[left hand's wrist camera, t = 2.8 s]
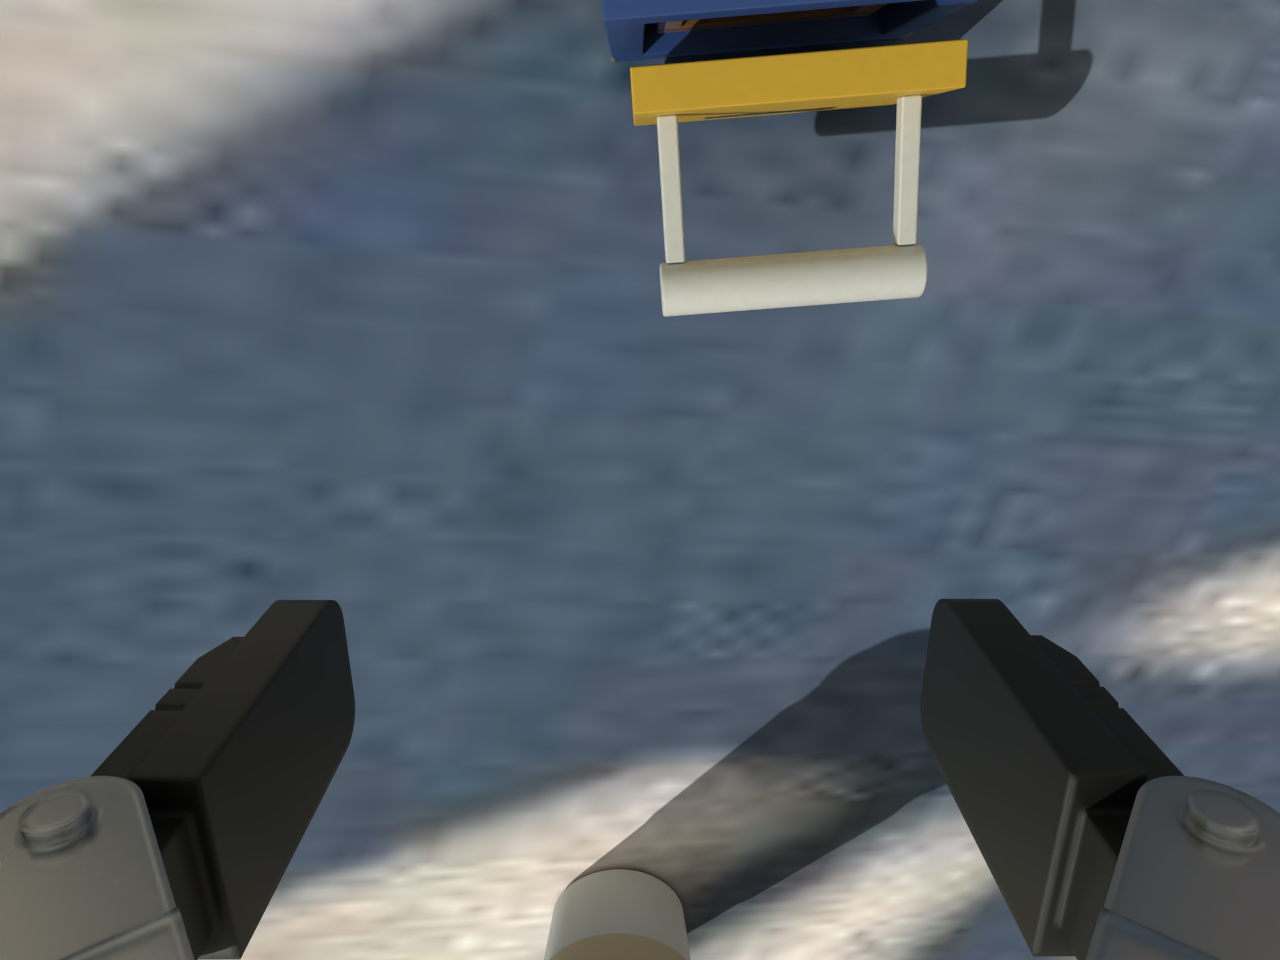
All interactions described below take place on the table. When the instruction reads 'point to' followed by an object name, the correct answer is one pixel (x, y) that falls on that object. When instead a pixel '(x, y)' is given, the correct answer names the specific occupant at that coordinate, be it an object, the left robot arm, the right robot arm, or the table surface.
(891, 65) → the drawer
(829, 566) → the table surface
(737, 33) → the cabinet
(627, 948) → the coffee cup
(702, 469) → the table surface
